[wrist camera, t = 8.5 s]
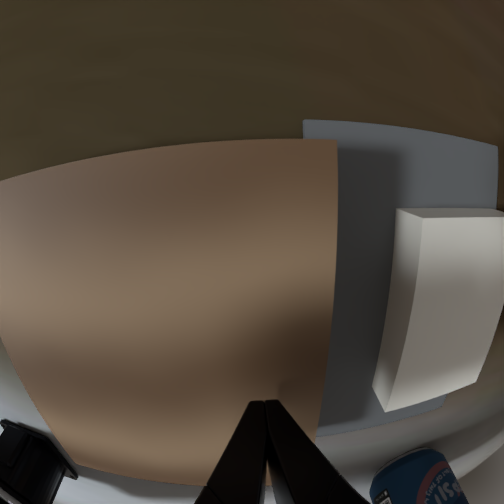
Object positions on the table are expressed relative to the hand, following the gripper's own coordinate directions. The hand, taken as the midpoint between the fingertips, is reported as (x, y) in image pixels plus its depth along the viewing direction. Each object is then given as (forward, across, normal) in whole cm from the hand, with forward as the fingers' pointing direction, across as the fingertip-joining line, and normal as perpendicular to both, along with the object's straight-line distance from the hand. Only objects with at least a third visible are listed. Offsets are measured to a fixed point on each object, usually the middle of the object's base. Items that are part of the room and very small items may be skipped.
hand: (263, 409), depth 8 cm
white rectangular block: (+2, -9, -1) cm, 9 cm away
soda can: (+5, -12, +16) cm, 21 cm away
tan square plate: (+5, +4, 0) cm, 6 cm away
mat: (+5, -7, 0) cm, 8 cm away
